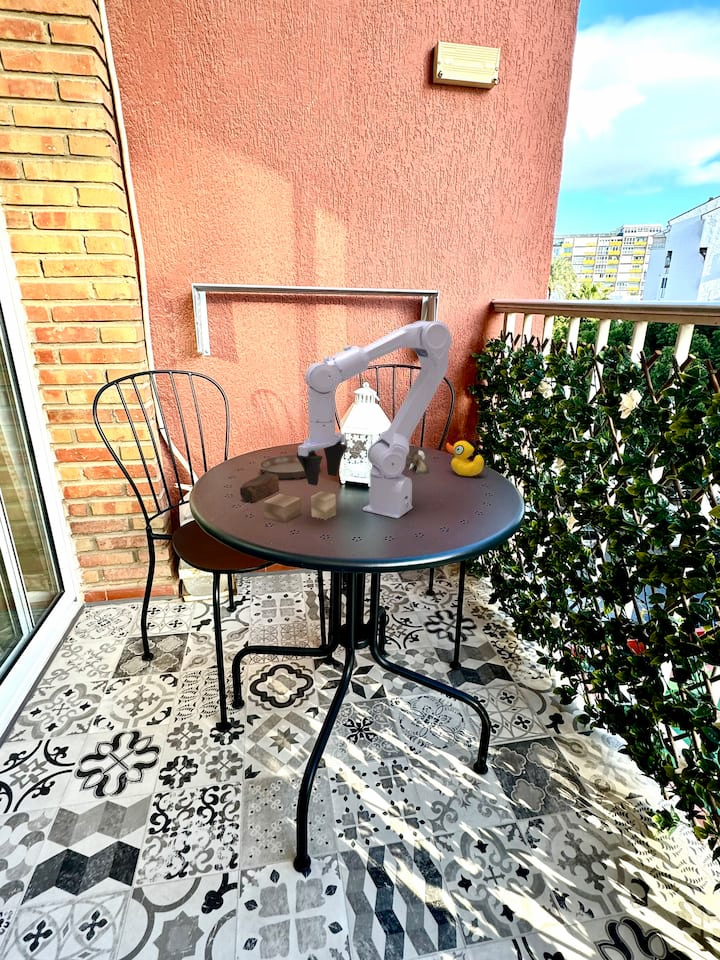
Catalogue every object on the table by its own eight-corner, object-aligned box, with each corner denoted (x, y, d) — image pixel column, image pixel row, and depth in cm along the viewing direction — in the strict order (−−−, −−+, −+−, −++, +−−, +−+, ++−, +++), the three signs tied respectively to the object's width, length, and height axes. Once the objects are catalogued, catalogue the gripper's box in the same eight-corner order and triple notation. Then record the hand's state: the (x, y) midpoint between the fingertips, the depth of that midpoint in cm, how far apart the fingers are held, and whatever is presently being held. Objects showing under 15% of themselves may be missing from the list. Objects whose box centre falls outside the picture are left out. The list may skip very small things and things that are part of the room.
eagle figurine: (396, 463, 149) (405, 466, 141) (407, 442, 149) (417, 444, 140) (416, 475, 151) (426, 479, 142) (427, 455, 151) (438, 457, 142)
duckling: (441, 474, 143) (443, 440, 139) (448, 469, 147) (450, 437, 144) (478, 480, 137) (481, 446, 134) (485, 475, 141) (488, 442, 138)
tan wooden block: (301, 514, 114) (300, 498, 113) (285, 523, 109) (284, 506, 108) (280, 509, 117) (280, 493, 115) (264, 518, 112) (263, 501, 110)
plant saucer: (248, 478, 139) (247, 468, 138) (276, 461, 155) (275, 452, 154) (306, 484, 134) (306, 474, 133) (328, 466, 150) (328, 457, 149)
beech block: (335, 514, 113) (335, 494, 112) (325, 520, 110) (325, 499, 109) (321, 511, 115) (321, 491, 114) (311, 516, 112) (311, 496, 111)
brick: (267, 488, 130) (266, 472, 129) (279, 491, 129) (278, 474, 127) (240, 501, 122) (238, 483, 120) (252, 504, 120) (251, 486, 118)
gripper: (326, 412, 114) (327, 468, 118) (285, 423, 102) (288, 485, 106) (351, 416, 110) (351, 473, 114) (313, 427, 98) (314, 491, 103)
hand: (323, 479), depth 110 cm, fingers open, 7 cm apart
